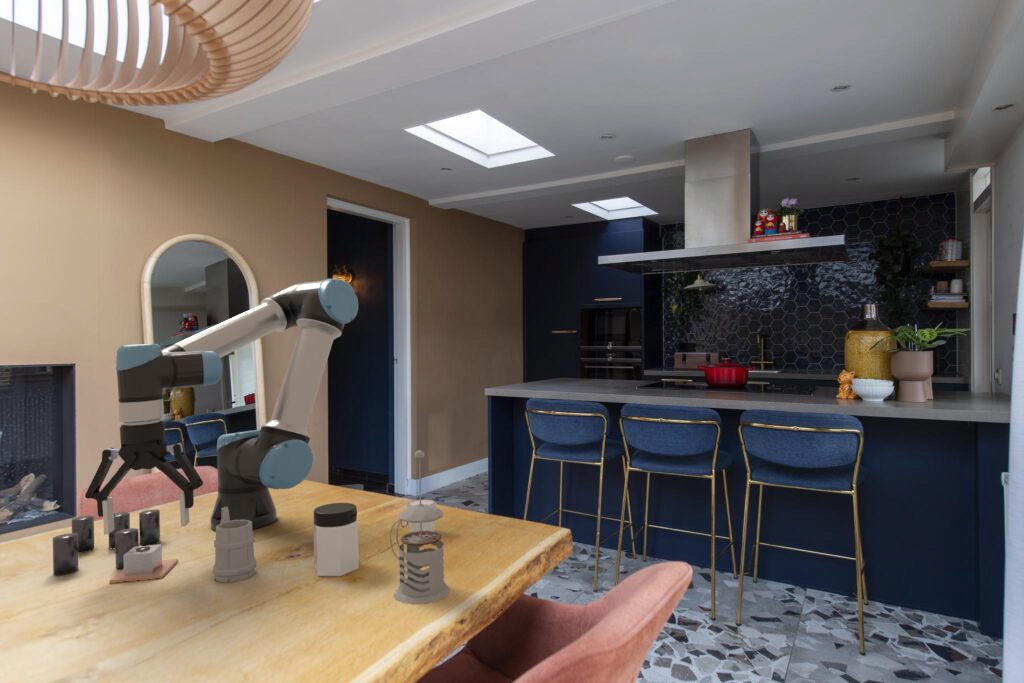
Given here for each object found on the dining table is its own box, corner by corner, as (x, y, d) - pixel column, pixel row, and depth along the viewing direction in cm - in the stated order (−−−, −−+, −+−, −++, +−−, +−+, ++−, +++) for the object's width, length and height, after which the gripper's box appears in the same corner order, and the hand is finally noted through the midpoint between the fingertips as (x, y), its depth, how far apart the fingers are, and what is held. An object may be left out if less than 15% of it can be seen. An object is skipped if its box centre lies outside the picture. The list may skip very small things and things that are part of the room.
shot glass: (401, 535, 135) (401, 505, 135) (417, 527, 142) (416, 497, 142) (427, 538, 133) (427, 507, 133) (442, 529, 139) (441, 500, 139)
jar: (362, 572, 114) (361, 510, 114) (318, 580, 110) (317, 516, 110) (353, 558, 122) (352, 500, 122) (312, 565, 118) (310, 505, 118)
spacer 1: (82, 566, 120) (81, 532, 120) (72, 574, 116) (71, 538, 116) (59, 568, 119) (59, 534, 119) (49, 576, 115) (48, 540, 115)
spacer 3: (133, 542, 135) (132, 511, 135) (125, 547, 131) (125, 516, 131) (113, 543, 134) (113, 513, 134) (105, 549, 130) (105, 518, 130)
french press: (425, 608, 97) (422, 457, 97) (374, 594, 103) (371, 452, 104) (461, 587, 106) (458, 447, 106) (412, 575, 112) (409, 443, 112)
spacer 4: (142, 561, 123) (141, 527, 123) (134, 568, 119) (133, 533, 119) (120, 563, 122) (120, 529, 122) (112, 570, 118) (111, 535, 118)
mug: (219, 586, 108) (218, 521, 108) (202, 569, 117) (201, 509, 117) (262, 575, 113) (261, 513, 114) (242, 559, 122) (241, 501, 122)
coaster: (177, 561, 122) (177, 558, 122) (162, 578, 113) (162, 575, 113) (129, 566, 120) (129, 563, 120) (109, 583, 111) (109, 580, 111)
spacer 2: (97, 545, 133) (97, 514, 133) (89, 551, 129) (88, 519, 129) (77, 547, 132) (77, 516, 132) (68, 553, 128) (67, 521, 128)
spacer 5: (162, 539, 137) (162, 508, 137) (156, 544, 133) (155, 513, 133) (143, 540, 136) (143, 510, 136) (136, 546, 132) (136, 515, 132)
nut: (162, 564, 119) (161, 543, 119) (152, 573, 114) (152, 551, 114) (134, 566, 118) (134, 545, 118) (123, 576, 113) (123, 553, 113)
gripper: (215, 414, 123) (220, 515, 123) (80, 423, 118) (85, 529, 118) (205, 419, 116) (210, 527, 116) (60, 429, 110) (66, 542, 111)
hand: (147, 528), depth 117 cm, fingers open, 13 cm apart
